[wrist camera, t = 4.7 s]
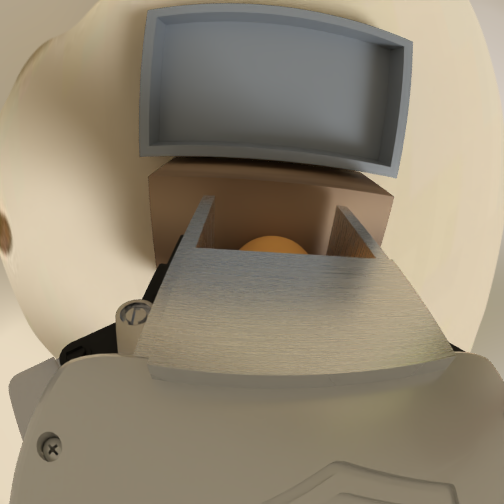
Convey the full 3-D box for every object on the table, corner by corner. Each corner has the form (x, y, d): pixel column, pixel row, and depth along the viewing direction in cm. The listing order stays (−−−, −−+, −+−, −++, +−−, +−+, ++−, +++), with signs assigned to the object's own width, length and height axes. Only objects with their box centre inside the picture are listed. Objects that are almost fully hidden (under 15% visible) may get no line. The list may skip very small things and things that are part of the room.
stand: (330, 293, 21) (346, 338, 17) (181, 285, 21) (167, 330, 17) (359, 172, 16) (394, 196, 12) (175, 156, 16) (148, 176, 12)
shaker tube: (321, 306, 15) (360, 461, 7) (205, 300, 14) (177, 464, 7) (348, 195, 12) (471, 352, 4) (203, 184, 11) (116, 359, 3)
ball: (301, 314, 14) (322, 338, 10) (227, 310, 14) (221, 335, 10) (307, 239, 14) (331, 237, 10) (231, 234, 14) (226, 230, 10)
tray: (380, 168, 16) (396, 178, 14) (153, 149, 16) (139, 156, 14) (394, 47, 12) (412, 41, 10) (160, 20, 11) (147, 10, 9)
